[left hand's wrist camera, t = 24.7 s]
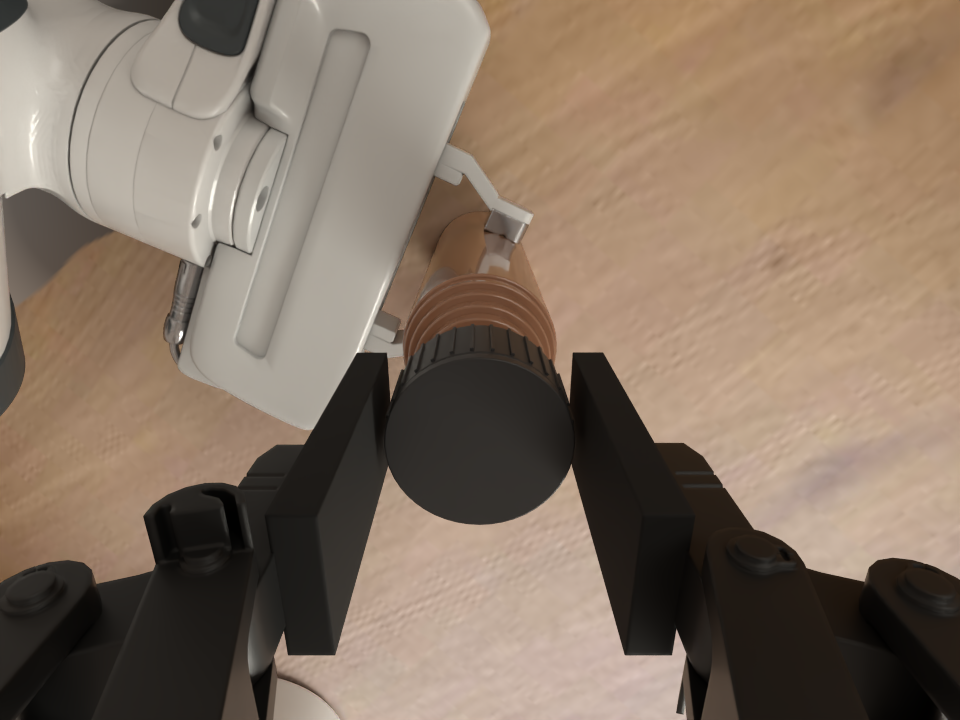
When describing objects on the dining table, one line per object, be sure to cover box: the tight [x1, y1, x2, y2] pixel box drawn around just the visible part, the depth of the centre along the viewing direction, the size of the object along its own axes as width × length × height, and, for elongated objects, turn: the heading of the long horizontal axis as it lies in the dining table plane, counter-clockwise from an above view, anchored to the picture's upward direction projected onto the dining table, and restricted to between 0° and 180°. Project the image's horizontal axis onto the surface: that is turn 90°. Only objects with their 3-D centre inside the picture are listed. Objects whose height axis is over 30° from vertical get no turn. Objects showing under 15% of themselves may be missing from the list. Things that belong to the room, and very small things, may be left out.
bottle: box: [403, 211, 557, 367], centre depth 23 cm, size 5×5×21 cm
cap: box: [384, 324, 575, 525], centre depth 13 cm, size 4×4×2 cm
